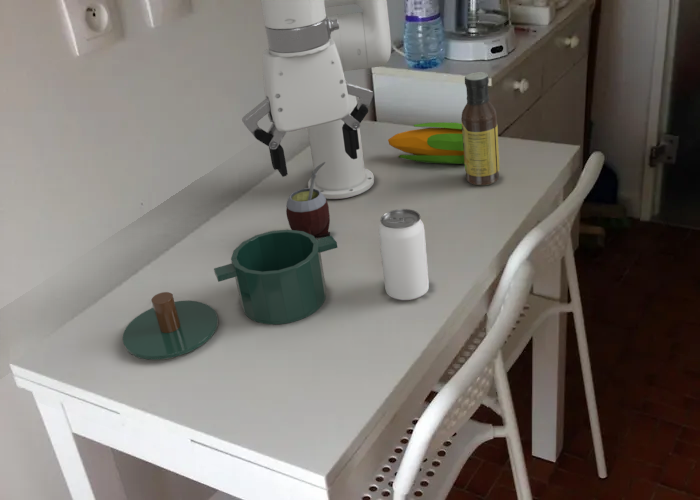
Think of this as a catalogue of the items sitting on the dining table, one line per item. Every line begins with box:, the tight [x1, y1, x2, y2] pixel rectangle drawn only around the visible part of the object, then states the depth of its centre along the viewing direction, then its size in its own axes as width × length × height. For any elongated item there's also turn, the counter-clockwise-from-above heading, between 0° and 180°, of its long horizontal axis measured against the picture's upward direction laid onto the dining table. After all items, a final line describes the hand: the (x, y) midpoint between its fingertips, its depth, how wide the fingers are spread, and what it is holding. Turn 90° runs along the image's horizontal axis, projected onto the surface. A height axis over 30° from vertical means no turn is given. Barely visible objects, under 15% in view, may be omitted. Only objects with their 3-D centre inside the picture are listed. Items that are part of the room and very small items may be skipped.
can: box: [378, 208, 430, 302], centre depth 116 cm, size 6×6×12 cm
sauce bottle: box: [461, 71, 501, 186], centre depth 143 cm, size 6×6×20 cm
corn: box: [387, 121, 465, 165], centre depth 156 cm, size 7×8×20 cm
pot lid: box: [122, 291, 219, 361], centre depth 114 cm, size 14×14×6 cm
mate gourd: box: [285, 162, 331, 239], centre depth 132 cm, size 8×8×15 cm
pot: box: [213, 229, 338, 325], centre depth 118 cm, size 13×18×8 cm
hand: (317, 164), depth 107 cm, fingers open, 9 cm apart
